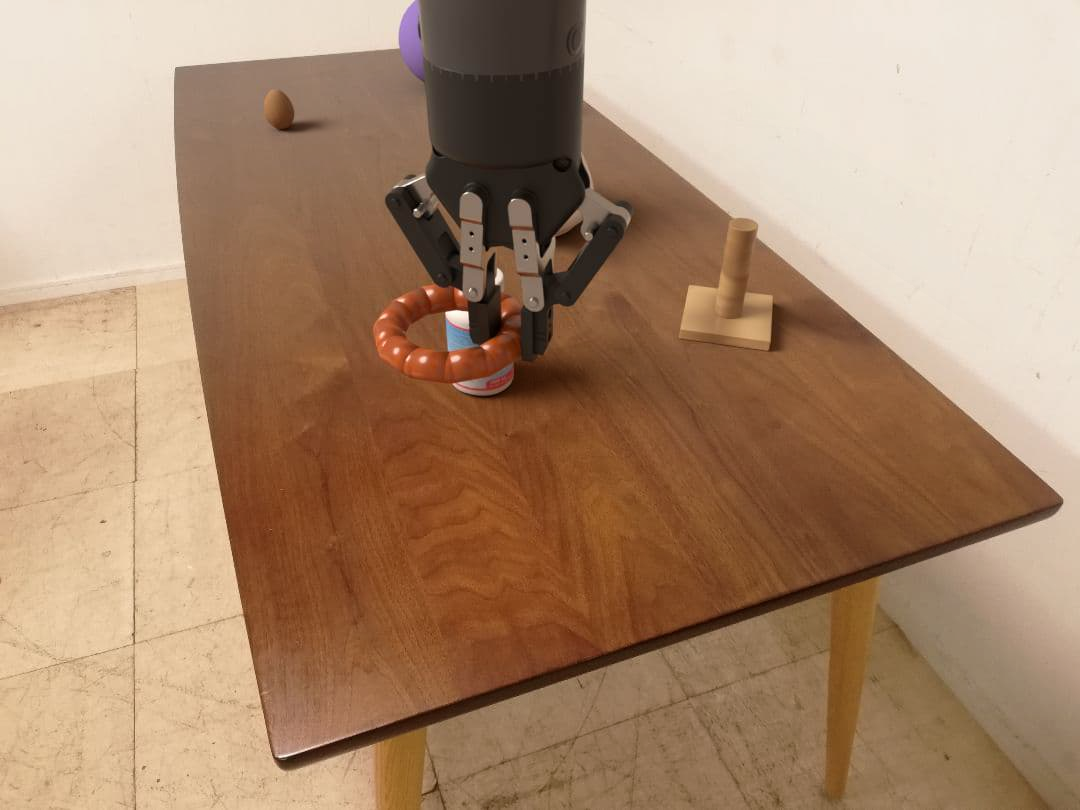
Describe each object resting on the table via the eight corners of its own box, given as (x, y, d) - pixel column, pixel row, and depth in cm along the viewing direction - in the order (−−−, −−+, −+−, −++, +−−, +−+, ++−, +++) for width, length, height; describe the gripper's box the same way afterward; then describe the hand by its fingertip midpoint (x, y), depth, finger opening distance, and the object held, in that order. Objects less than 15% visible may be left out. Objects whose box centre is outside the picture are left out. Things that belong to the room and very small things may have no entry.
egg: (294, 133, 126) (287, 94, 122) (265, 134, 126) (257, 94, 122) (299, 123, 130) (292, 84, 126) (270, 123, 129) (262, 84, 126)
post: (770, 304, 89) (791, 209, 82) (768, 351, 82) (791, 251, 75) (687, 293, 91) (701, 199, 83) (678, 338, 84) (692, 239, 77)
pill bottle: (500, 404, 75) (497, 299, 68) (439, 390, 77) (430, 286, 70) (523, 367, 80) (522, 265, 73) (465, 355, 81) (458, 254, 74)
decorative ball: (495, 97, 140) (493, 1, 130) (407, 102, 137) (397, 5, 128) (481, 69, 151) (478, -20, 142) (399, 74, 149) (390, -17, 139)
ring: (544, 310, 52) (544, 286, 51) (508, 398, 45) (508, 372, 44) (407, 294, 54) (404, 270, 53) (352, 376, 47) (347, 351, 46)
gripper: (666, 33, 39) (637, 335, 50) (398, 11, 42) (427, 301, 53) (635, 81, 33) (611, 410, 44) (329, 53, 36) (377, 367, 47)
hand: (511, 349), depth 49 cm, fingers closed on ring, 2 cm apart
